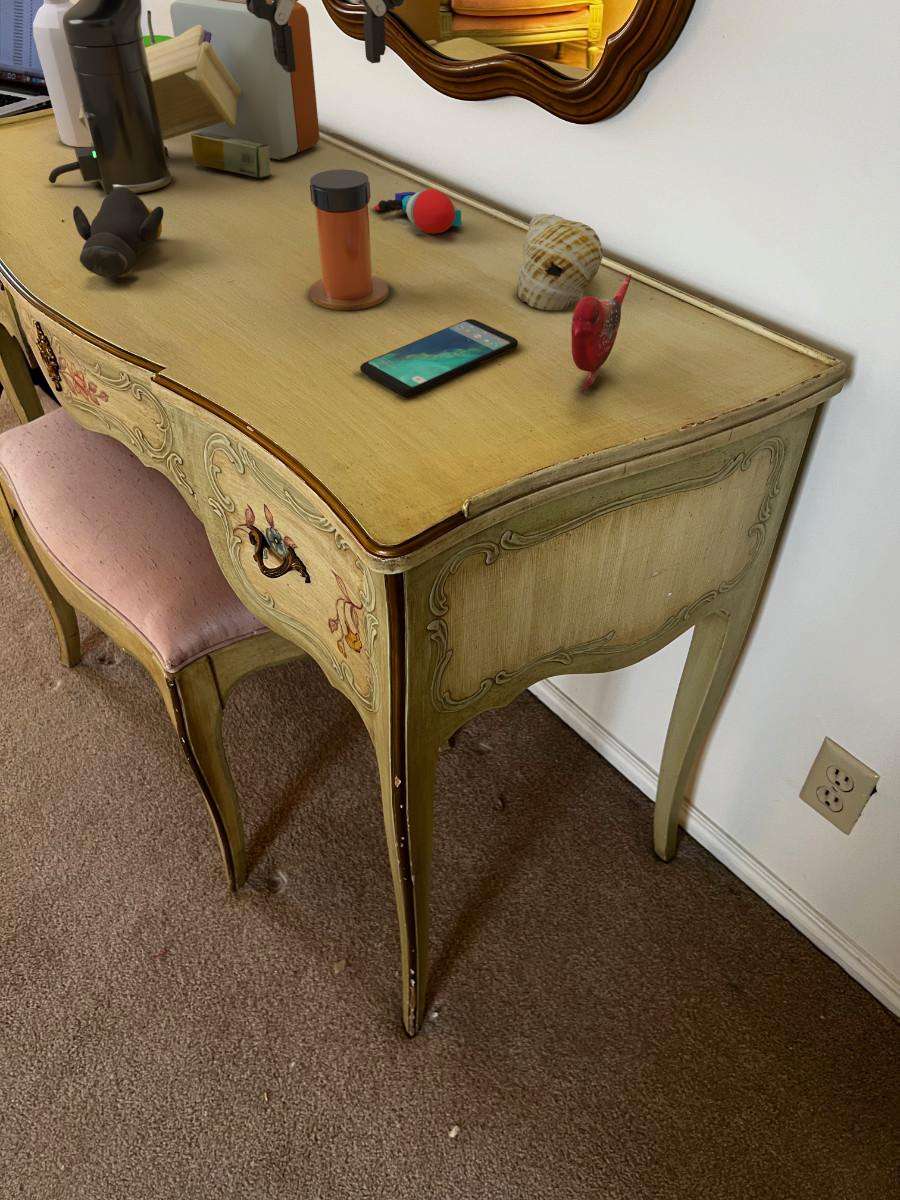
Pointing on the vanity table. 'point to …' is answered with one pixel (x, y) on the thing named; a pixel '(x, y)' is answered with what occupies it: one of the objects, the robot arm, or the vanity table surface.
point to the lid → (340, 190)
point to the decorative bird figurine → (595, 331)
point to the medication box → (231, 154)
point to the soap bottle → (59, 71)
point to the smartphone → (438, 356)
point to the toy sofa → (190, 84)
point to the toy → (117, 233)
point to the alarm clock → (259, 73)
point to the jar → (345, 252)
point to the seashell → (557, 262)
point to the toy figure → (425, 209)
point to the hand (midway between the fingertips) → (331, 65)
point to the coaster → (364, 302)
